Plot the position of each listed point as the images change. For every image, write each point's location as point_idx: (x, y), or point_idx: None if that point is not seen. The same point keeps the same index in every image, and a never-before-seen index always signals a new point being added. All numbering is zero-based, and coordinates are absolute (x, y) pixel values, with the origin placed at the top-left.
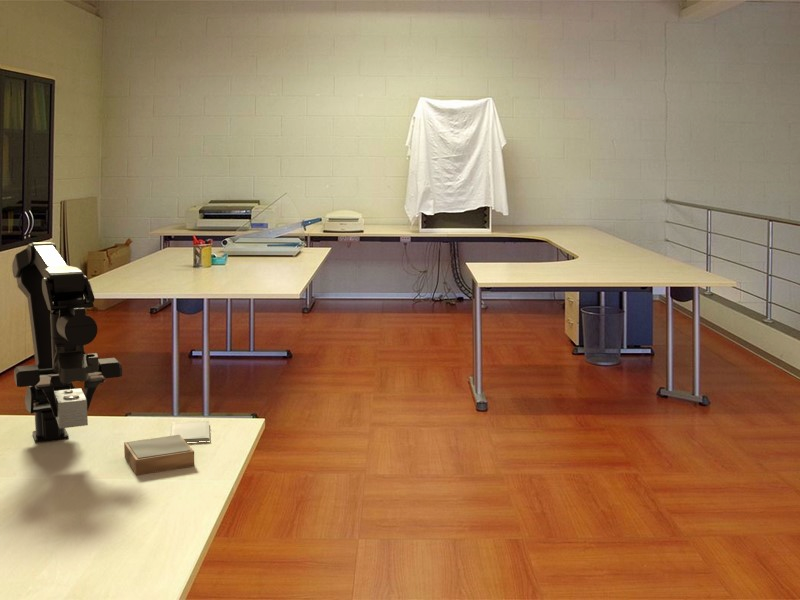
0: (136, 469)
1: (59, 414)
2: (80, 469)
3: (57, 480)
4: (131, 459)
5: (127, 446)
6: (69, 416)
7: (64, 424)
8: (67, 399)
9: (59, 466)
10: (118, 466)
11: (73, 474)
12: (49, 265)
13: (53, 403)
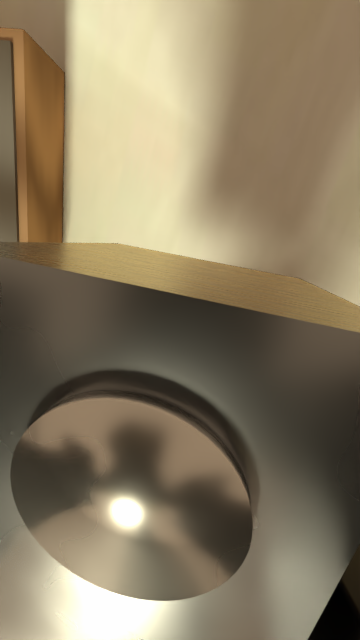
0: (49, 57)
1: (337, 297)
2: (202, 247)
3: (302, 183)
4: (43, 150)
5: (25, 233)
6: (230, 272)
7: (268, 274)
8: (212, 442)
9: None
10: (95, 204)
11: (236, 212)
12: None
13: None
